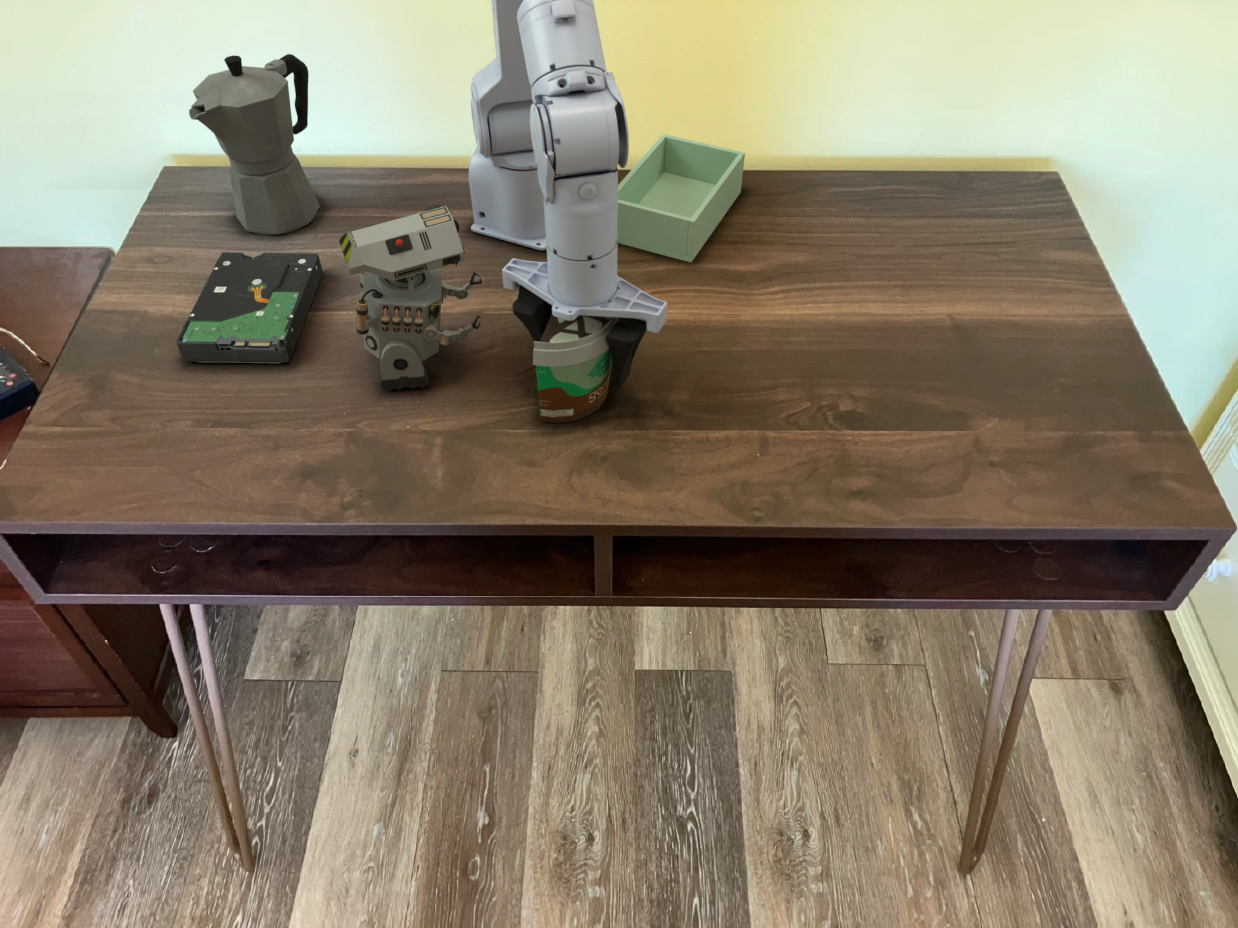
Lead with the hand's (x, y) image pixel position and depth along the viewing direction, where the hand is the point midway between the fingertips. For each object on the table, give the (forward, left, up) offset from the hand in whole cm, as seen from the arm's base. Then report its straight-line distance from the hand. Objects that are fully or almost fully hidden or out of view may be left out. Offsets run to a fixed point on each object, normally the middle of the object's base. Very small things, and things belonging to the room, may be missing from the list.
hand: (585, 368), depth 85 cm
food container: (0, 0, -3) cm, 3 cm away
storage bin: (-4, +31, -3) cm, 31 cm away
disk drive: (-35, -4, -3) cm, 35 cm away
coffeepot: (-45, +13, -3) cm, 47 cm away
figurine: (-16, -2, -3) cm, 16 cm away
